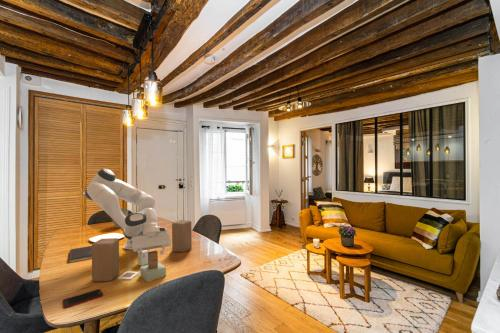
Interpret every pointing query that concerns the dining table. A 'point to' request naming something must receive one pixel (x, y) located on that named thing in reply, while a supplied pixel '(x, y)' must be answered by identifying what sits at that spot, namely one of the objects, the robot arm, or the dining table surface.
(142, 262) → the off-white block
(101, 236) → the plate
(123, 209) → the plant pot
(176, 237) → the block
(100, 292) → the cell phone
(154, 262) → the walnut block
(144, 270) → the base block
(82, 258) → the hardcover book
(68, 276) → the dining table surface
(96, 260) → the wooden block
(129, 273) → the card
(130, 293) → the dining table surface
